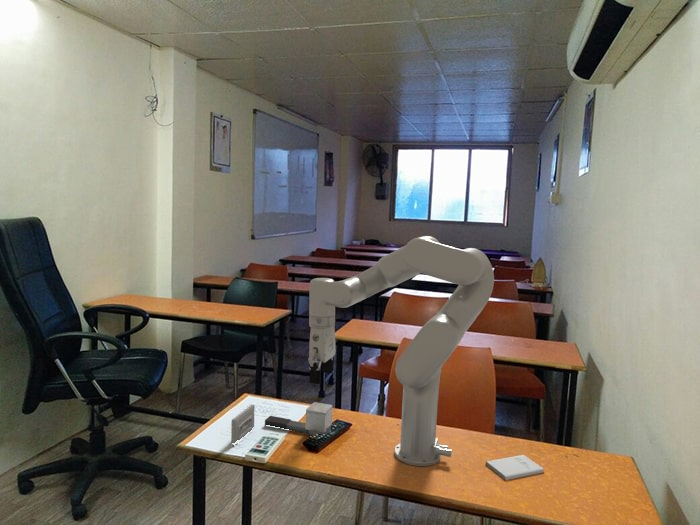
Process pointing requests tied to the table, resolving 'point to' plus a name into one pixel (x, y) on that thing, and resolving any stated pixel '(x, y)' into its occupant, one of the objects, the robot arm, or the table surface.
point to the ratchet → (291, 425)
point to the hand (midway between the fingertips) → (321, 377)
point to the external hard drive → (514, 467)
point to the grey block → (318, 417)
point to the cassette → (242, 424)
